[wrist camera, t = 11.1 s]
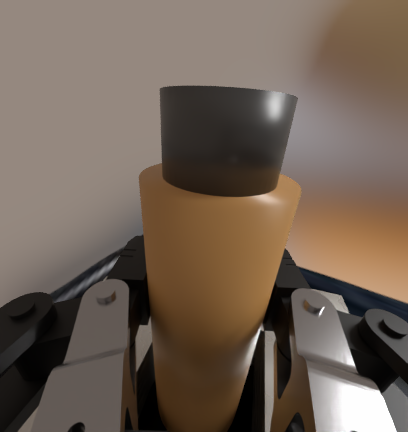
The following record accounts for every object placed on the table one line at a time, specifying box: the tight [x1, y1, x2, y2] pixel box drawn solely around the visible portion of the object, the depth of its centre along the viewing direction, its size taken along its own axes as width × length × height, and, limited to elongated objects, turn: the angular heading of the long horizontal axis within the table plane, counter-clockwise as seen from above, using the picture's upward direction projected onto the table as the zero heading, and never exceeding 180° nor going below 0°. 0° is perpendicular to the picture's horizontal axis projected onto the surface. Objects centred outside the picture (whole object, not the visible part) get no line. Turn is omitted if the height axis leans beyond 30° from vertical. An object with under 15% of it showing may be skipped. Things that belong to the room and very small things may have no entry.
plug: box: [139, 86, 301, 432], centre depth 8 cm, size 4×4×14 cm
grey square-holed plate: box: [18, 276, 349, 432], centre depth 11 cm, size 18×16×4 cm
